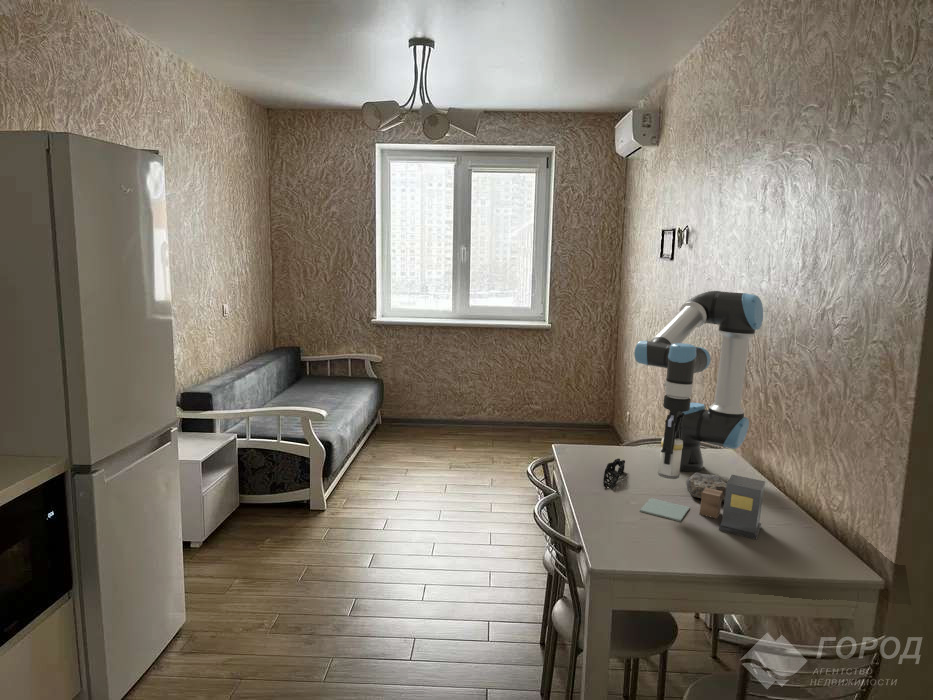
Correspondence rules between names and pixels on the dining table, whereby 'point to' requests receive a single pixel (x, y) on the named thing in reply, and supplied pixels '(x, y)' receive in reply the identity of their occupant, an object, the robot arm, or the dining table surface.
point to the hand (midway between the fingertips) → (669, 470)
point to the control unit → (742, 506)
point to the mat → (665, 509)
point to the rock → (705, 484)
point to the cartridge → (676, 460)
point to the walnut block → (711, 502)
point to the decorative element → (613, 472)
